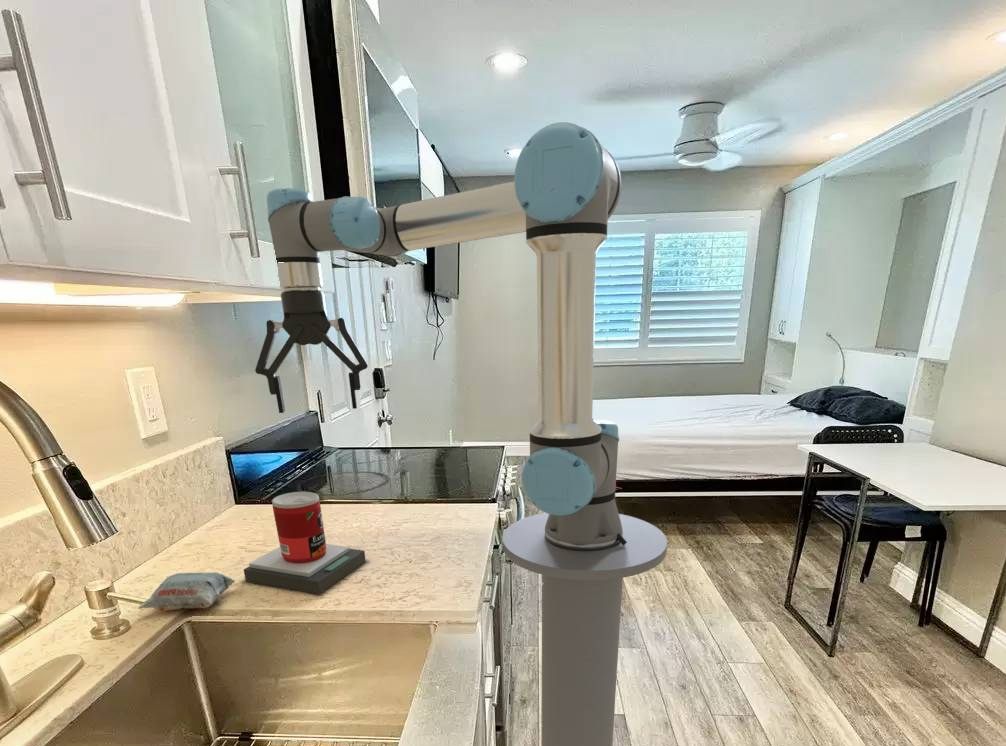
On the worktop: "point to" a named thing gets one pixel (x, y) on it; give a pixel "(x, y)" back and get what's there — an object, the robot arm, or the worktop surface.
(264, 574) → the kitchen scale
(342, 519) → the worktop surface
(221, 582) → the packaged food
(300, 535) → the canned food
